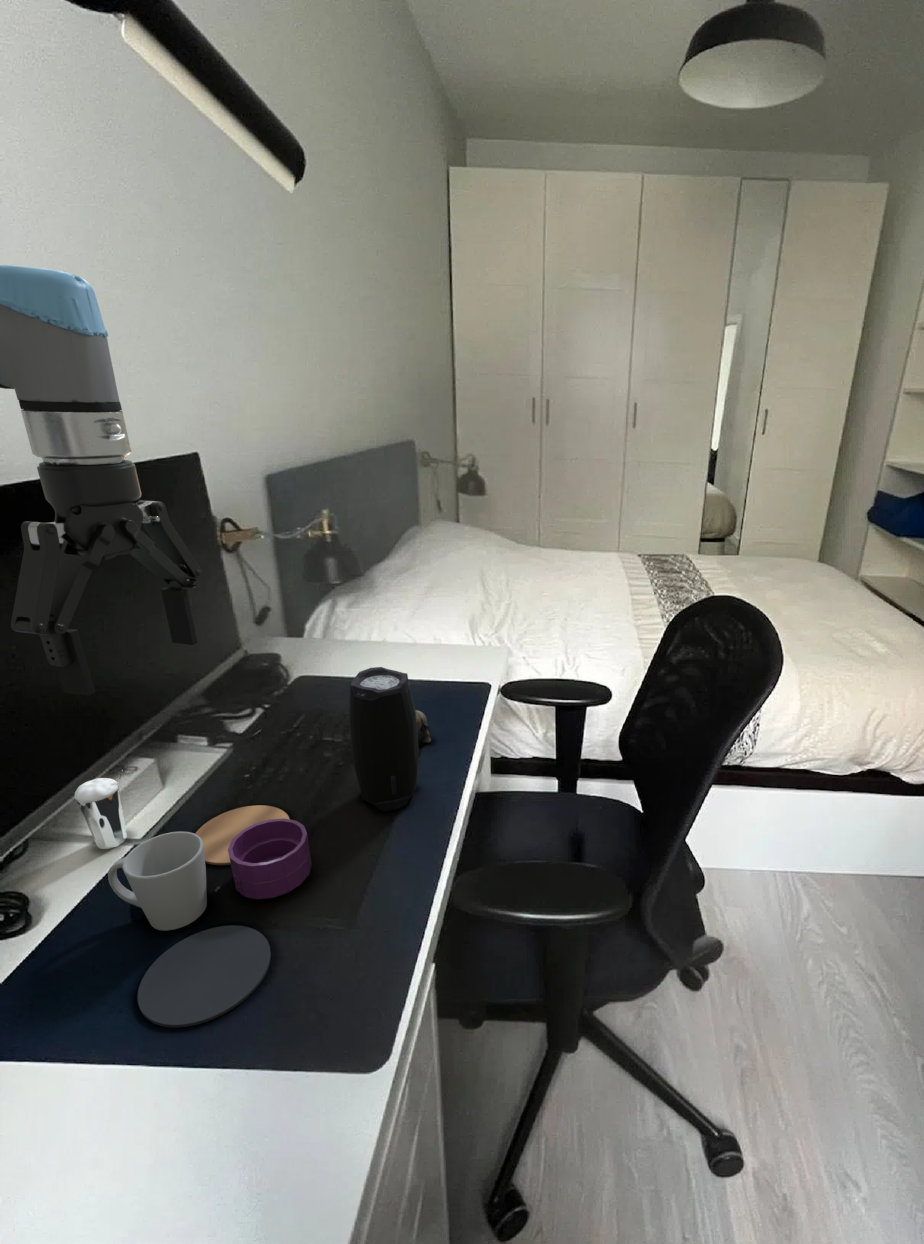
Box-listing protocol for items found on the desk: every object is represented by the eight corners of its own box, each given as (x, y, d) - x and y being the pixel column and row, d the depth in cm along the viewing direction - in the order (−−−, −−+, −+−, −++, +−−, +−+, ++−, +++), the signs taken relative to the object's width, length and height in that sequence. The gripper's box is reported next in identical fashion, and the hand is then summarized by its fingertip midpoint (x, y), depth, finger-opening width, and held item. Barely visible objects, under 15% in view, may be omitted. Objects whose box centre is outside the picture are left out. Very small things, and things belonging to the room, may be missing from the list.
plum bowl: (219, 895, 75) (211, 858, 73) (265, 848, 83) (259, 814, 80) (284, 908, 73) (278, 871, 71) (325, 859, 81) (320, 824, 79)
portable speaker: (364, 780, 98) (352, 664, 90) (425, 779, 99) (418, 665, 91) (350, 813, 90) (336, 690, 82) (416, 813, 91) (409, 691, 83)
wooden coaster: (169, 856, 80) (168, 854, 80) (233, 802, 91) (233, 799, 91) (252, 872, 78) (252, 870, 78) (308, 814, 89) (307, 812, 89)
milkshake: (140, 843, 83) (122, 778, 79) (90, 857, 80) (69, 791, 76) (139, 824, 86) (122, 761, 82) (91, 837, 83) (71, 773, 79)
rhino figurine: (375, 719, 115) (373, 690, 113) (435, 739, 110) (433, 709, 107) (359, 729, 112) (356, 699, 110) (419, 750, 106) (417, 719, 104)
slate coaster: (107, 1013, 60) (106, 1010, 60) (198, 919, 71) (198, 916, 71) (217, 1040, 58) (216, 1037, 58) (294, 939, 69) (293, 936, 69)
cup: (199, 937, 69) (183, 876, 66) (102, 941, 68) (81, 880, 65) (227, 887, 76) (215, 829, 73) (139, 890, 75) (123, 832, 72)
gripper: (-21, 476, 47) (58, 725, 55) (215, 451, 70) (246, 629, 78) (-101, 471, 48) (-13, 714, 56) (156, 447, 71) (192, 623, 79)
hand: (137, 665), depth 67 cm, fingers open, 13 cm apart
